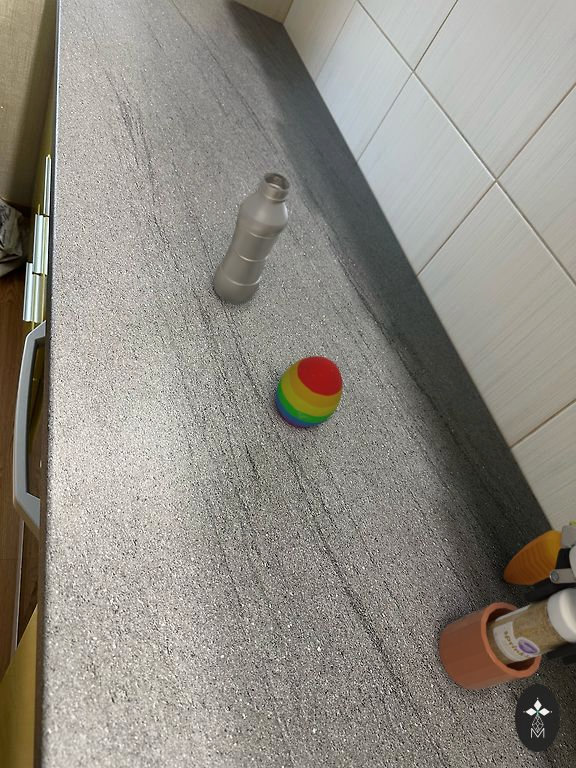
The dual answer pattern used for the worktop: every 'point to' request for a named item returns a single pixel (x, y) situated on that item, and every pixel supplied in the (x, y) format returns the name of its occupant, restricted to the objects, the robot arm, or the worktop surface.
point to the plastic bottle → (253, 239)
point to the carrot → (535, 559)
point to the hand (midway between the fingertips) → (547, 625)
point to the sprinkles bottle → (534, 628)
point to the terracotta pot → (479, 651)
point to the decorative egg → (309, 391)
